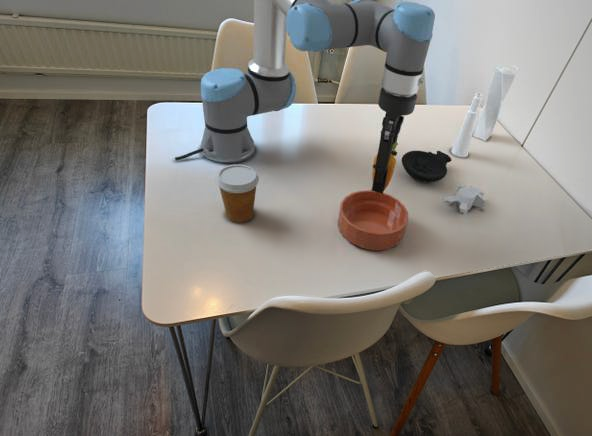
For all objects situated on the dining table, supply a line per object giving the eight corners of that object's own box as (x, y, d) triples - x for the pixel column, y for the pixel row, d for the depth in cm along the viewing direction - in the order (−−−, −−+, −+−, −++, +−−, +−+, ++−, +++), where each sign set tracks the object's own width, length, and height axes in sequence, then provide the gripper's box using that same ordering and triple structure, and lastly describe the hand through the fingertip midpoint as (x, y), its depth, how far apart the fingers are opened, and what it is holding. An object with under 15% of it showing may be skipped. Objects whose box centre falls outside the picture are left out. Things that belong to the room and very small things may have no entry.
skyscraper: (494, 137, 158) (522, 65, 140) (488, 143, 152) (516, 70, 135) (475, 129, 160) (500, 58, 143) (469, 135, 155) (494, 63, 137)
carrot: (388, 191, 99) (400, 137, 89) (387, 203, 95) (400, 148, 86) (368, 188, 99) (378, 133, 89) (366, 199, 95) (377, 144, 85)
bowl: (346, 255, 95) (349, 236, 91) (331, 209, 107) (333, 191, 103) (413, 248, 100) (418, 231, 96) (391, 206, 112) (395, 189, 109)
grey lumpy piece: (494, 193, 118) (471, 207, 108) (487, 207, 121) (464, 222, 111) (467, 178, 123) (442, 190, 112) (461, 192, 125) (436, 205, 115)
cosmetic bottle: (461, 148, 146) (480, 89, 132) (471, 156, 142) (492, 97, 128) (447, 149, 144) (466, 90, 130) (457, 158, 140) (477, 98, 126)
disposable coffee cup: (239, 232, 95) (237, 191, 88) (211, 215, 98) (206, 174, 91) (267, 213, 102) (267, 174, 95) (240, 198, 105) (237, 158, 98)
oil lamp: (462, 176, 131) (467, 163, 128) (423, 194, 119) (427, 180, 116) (429, 155, 138) (432, 142, 135) (389, 170, 127) (392, 156, 124)
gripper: (410, 111, 73) (387, 210, 88) (423, 80, 87) (401, 170, 101) (371, 101, 74) (354, 201, 88) (390, 72, 88) (373, 162, 102)
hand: (380, 184), depth 95 cm, fingers closed on carrot, 5 cm apart
